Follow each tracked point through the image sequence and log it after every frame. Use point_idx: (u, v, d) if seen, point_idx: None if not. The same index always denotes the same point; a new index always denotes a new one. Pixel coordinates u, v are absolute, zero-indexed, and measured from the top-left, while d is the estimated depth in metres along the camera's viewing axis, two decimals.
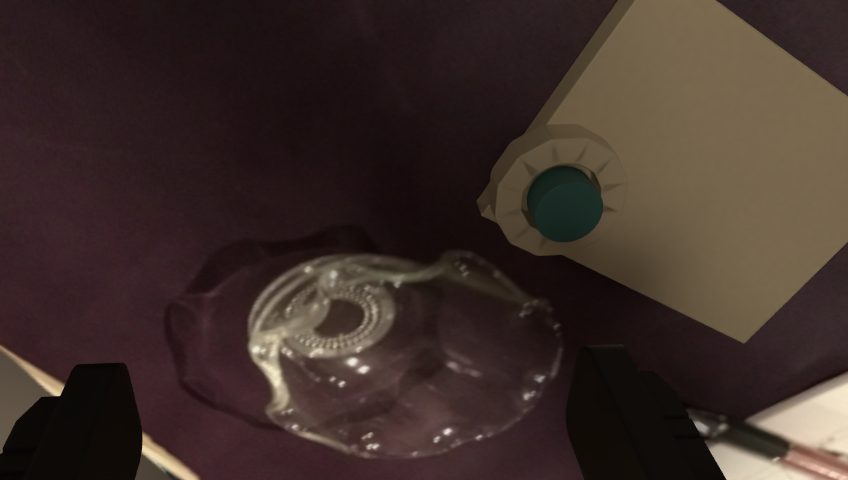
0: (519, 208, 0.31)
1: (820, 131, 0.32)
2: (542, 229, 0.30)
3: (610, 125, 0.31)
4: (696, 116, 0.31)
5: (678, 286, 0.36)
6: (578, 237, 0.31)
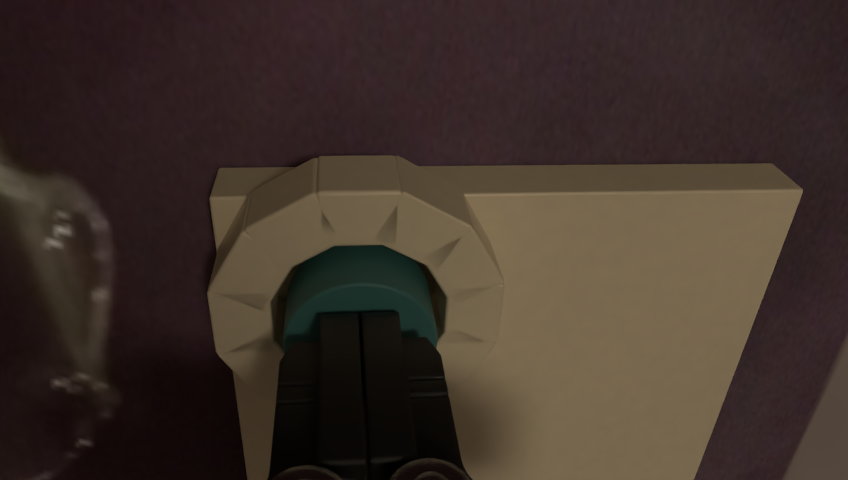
0: (294, 262, 0.13)
1: None
2: (297, 325, 0.13)
3: (511, 291, 0.16)
4: (581, 388, 0.18)
5: None
6: None
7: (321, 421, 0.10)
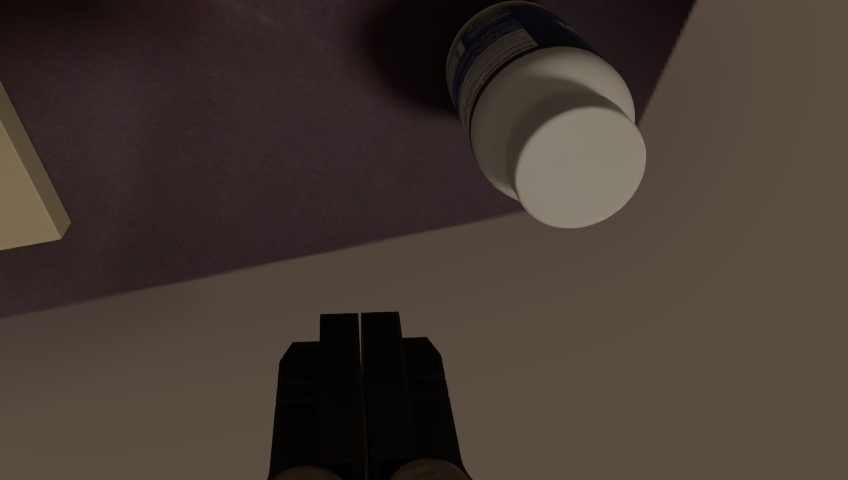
0: None
1: None
2: None
3: None
4: None
5: None
6: None
7: (321, 421, 0.10)
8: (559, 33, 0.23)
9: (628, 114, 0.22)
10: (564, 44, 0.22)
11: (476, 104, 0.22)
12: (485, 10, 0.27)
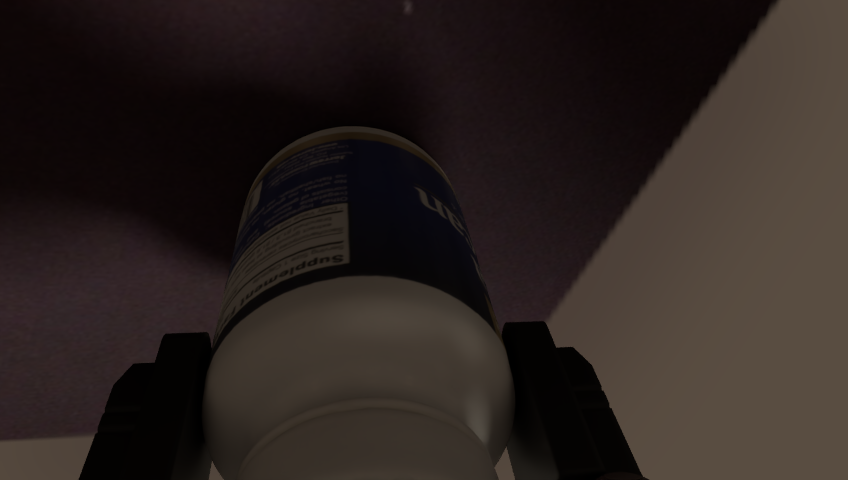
0: None
1: None
2: None
3: None
4: None
5: None
6: None
7: (130, 452, 0.10)
8: (404, 231, 0.12)
9: (500, 419, 0.12)
10: (399, 269, 0.11)
11: (216, 351, 0.11)
12: (314, 136, 0.16)
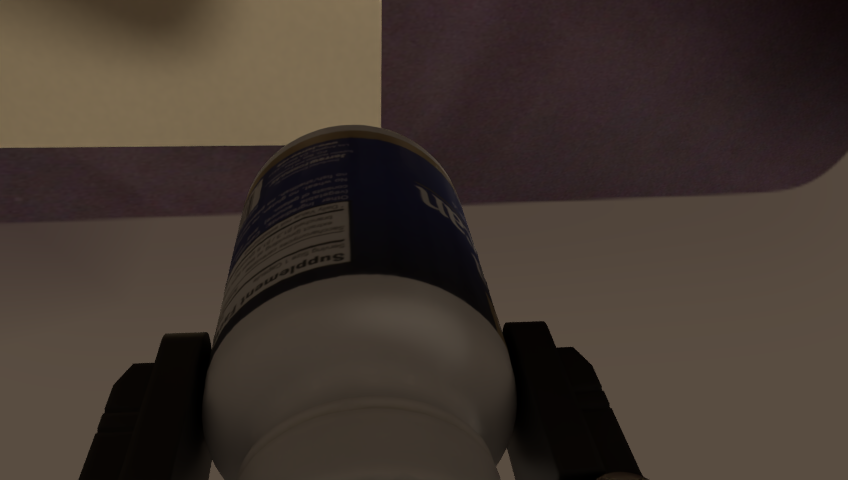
0: None
1: (105, 107, 0.30)
2: None
3: None
4: (241, 53, 0.29)
5: None
6: None
7: (130, 452, 0.10)
8: (405, 229, 0.12)
9: (502, 419, 0.11)
10: (401, 267, 0.11)
11: (216, 350, 0.11)
12: (314, 135, 0.16)
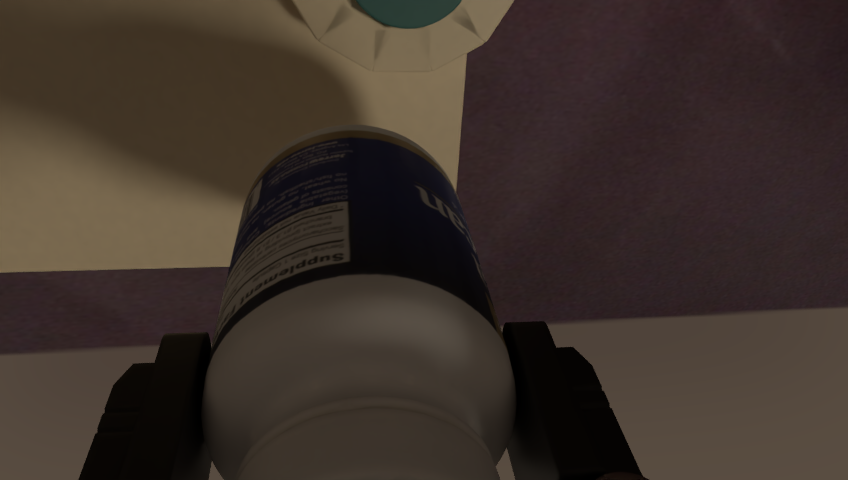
0: None
1: (73, 221, 0.21)
2: None
3: (374, 75, 0.20)
4: (265, 149, 0.21)
5: None
6: None
7: (130, 452, 0.10)
8: (405, 229, 0.12)
9: (501, 419, 0.11)
10: (400, 267, 0.11)
11: (215, 349, 0.11)
12: (314, 135, 0.16)
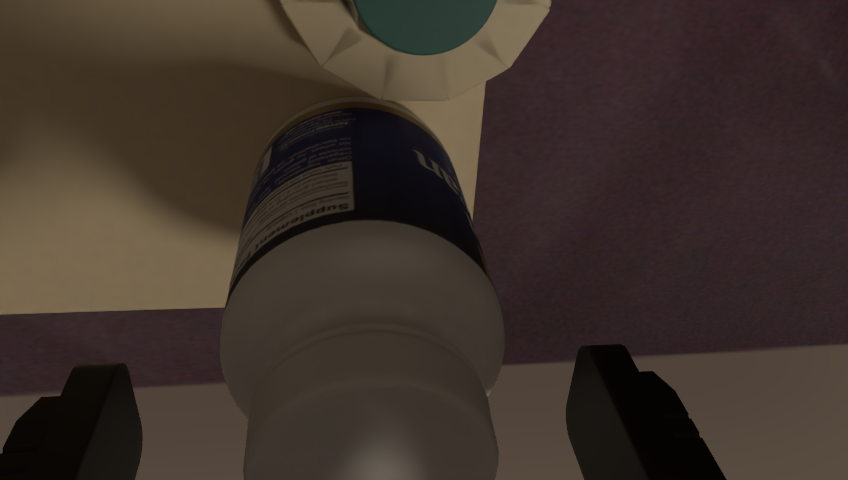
0: None
1: (50, 260, 0.19)
2: None
3: None
4: None
5: None
6: None
7: None
8: (404, 185, 0.14)
9: (490, 353, 0.13)
10: (399, 215, 0.13)
11: (233, 290, 0.13)
12: (320, 106, 0.17)
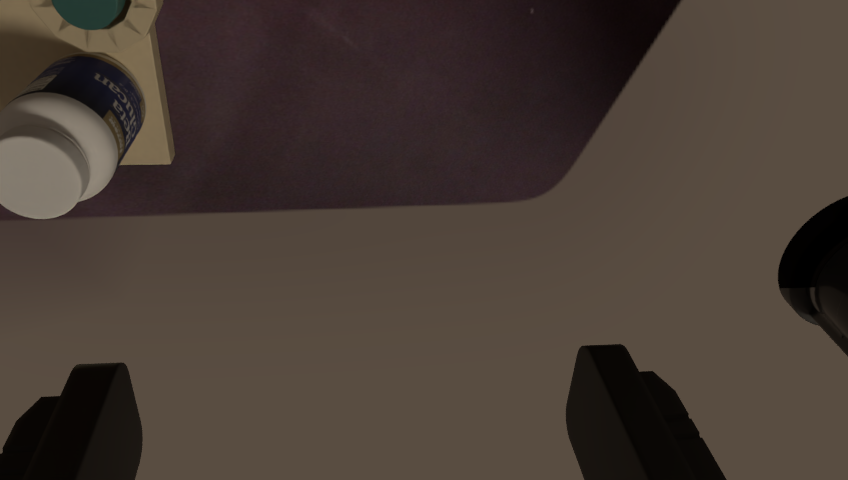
0: None
1: None
2: None
3: None
4: None
5: None
6: None
7: None
8: (74, 83, 0.33)
9: (99, 147, 0.32)
10: (60, 92, 0.32)
11: None
12: (65, 56, 0.36)
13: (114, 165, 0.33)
